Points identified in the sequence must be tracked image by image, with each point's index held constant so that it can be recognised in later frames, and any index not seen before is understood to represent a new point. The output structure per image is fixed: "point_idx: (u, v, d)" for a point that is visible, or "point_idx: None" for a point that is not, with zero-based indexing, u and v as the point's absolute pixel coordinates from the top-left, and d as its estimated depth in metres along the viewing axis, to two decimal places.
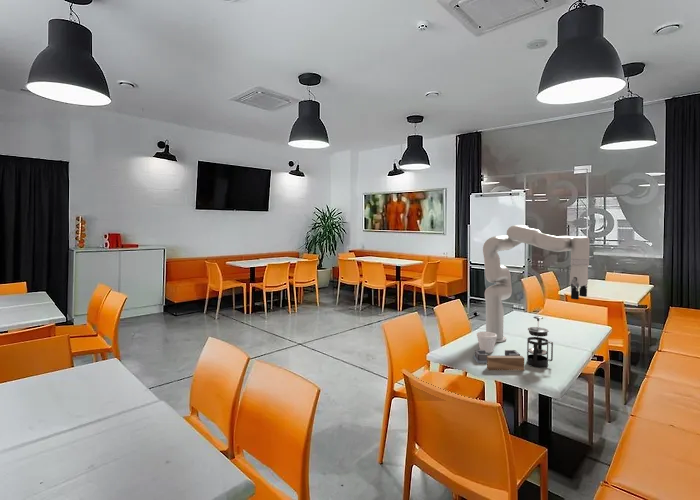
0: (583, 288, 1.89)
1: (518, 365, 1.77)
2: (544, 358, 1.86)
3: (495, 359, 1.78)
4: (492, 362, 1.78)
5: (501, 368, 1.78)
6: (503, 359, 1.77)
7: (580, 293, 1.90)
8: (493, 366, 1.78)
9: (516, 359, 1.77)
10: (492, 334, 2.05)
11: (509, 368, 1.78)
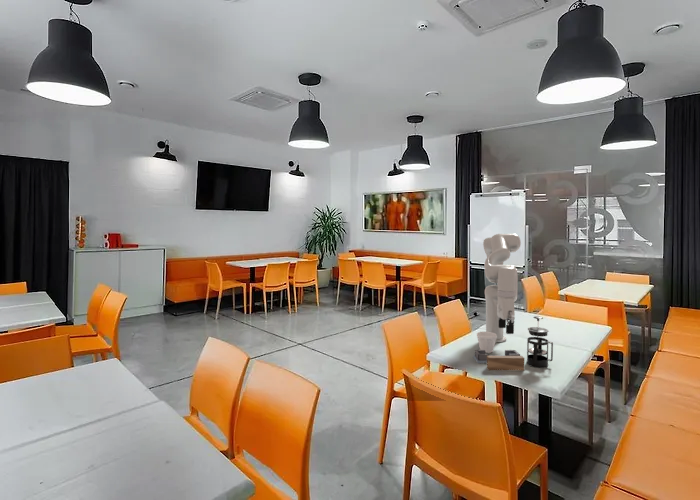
0: (502, 319, 1.82)
1: (519, 365, 1.77)
2: (544, 358, 1.86)
3: (495, 359, 1.78)
4: (492, 362, 1.78)
5: (501, 368, 1.78)
6: (503, 359, 1.77)
7: (500, 325, 1.82)
8: (493, 366, 1.78)
9: (516, 359, 1.77)
10: (492, 334, 2.05)
11: (509, 368, 1.78)
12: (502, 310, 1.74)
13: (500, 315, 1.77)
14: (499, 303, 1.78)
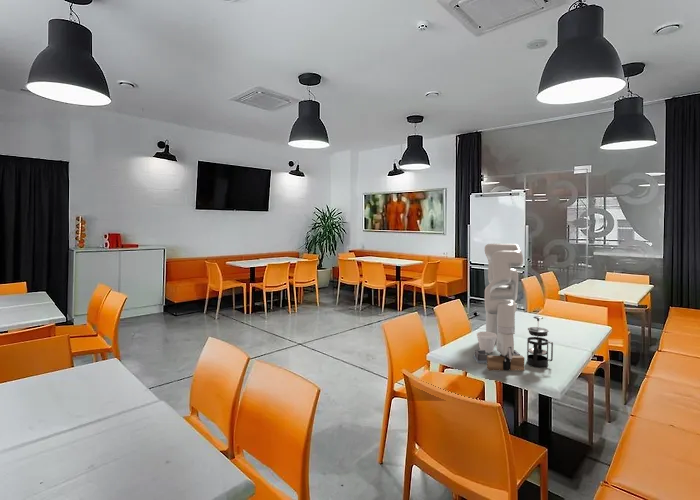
0: None
1: (519, 365, 1.77)
2: (544, 358, 1.86)
3: (495, 359, 1.77)
4: (492, 362, 1.78)
5: (501, 368, 1.78)
6: (503, 359, 1.77)
7: None
8: (493, 366, 1.78)
9: (516, 358, 1.77)
10: (492, 334, 2.05)
11: None
12: (501, 346, 1.75)
13: (500, 350, 1.78)
14: (499, 338, 1.79)
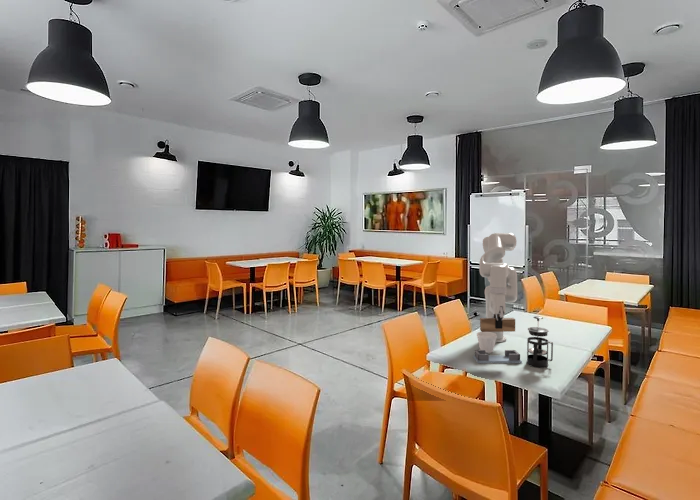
0: None
1: (510, 326, 1.88)
2: (544, 358, 1.86)
3: (488, 321, 1.88)
4: (485, 324, 1.88)
5: (493, 329, 1.88)
6: None
7: None
8: (486, 327, 1.88)
9: (507, 320, 1.87)
10: (492, 334, 2.05)
11: (501, 329, 1.88)
12: (494, 305, 1.86)
13: (492, 310, 1.88)
14: (491, 299, 1.89)
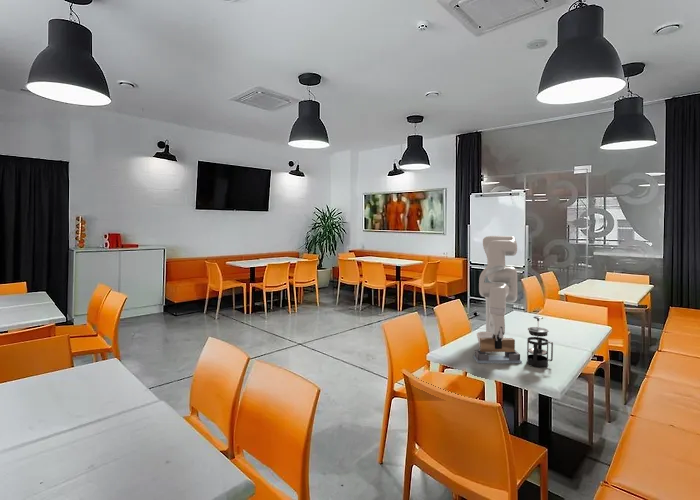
0: None
1: (509, 347, 1.88)
2: (544, 358, 1.86)
3: (487, 341, 1.89)
4: (484, 344, 1.89)
5: (493, 349, 1.89)
6: None
7: None
8: (485, 347, 1.89)
9: (507, 340, 1.88)
10: None
11: (500, 349, 1.89)
12: (493, 326, 1.87)
13: (491, 330, 1.89)
14: (491, 319, 1.90)
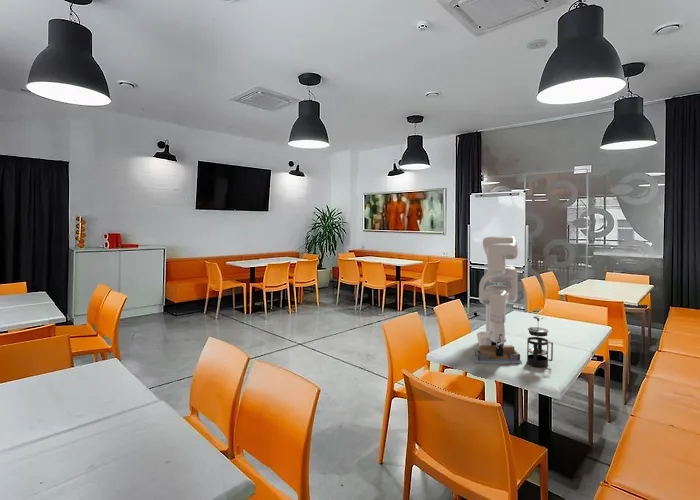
0: (495, 343, 1.94)
1: None
2: (544, 358, 1.86)
3: (487, 348, 1.89)
4: (484, 351, 1.89)
5: (493, 357, 1.89)
6: (494, 348, 1.89)
7: None
8: None
9: (507, 348, 1.89)
10: None
11: (500, 357, 1.89)
12: (493, 333, 1.87)
13: (491, 338, 1.89)
14: (491, 326, 1.90)
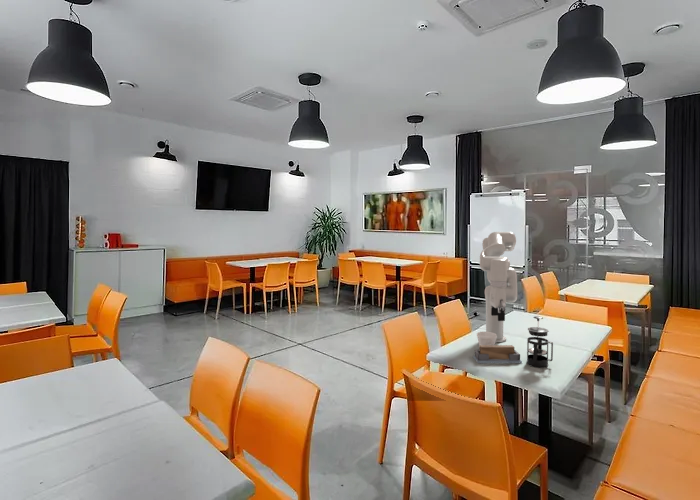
0: (495, 307, 1.95)
1: None
2: (544, 358, 1.86)
3: (487, 348, 1.89)
4: (484, 351, 1.89)
5: (493, 357, 1.89)
6: (494, 348, 1.89)
7: (492, 313, 1.95)
8: None
9: (507, 348, 1.89)
10: (492, 334, 2.05)
11: (500, 357, 1.89)
12: (494, 299, 1.87)
13: (492, 304, 1.89)
14: (491, 292, 1.90)
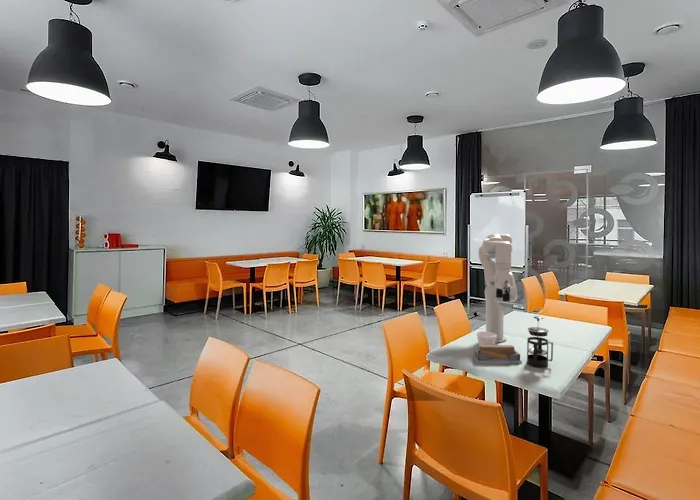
0: (500, 290, 2.03)
1: None
2: (544, 358, 1.86)
3: (487, 348, 1.89)
4: (484, 351, 1.89)
5: (493, 357, 1.89)
6: (494, 348, 1.89)
7: (497, 295, 2.03)
8: None
9: (507, 348, 1.89)
10: (492, 334, 2.05)
11: (500, 357, 1.89)
12: (499, 280, 1.95)
13: (497, 285, 1.97)
14: (497, 275, 1.98)
